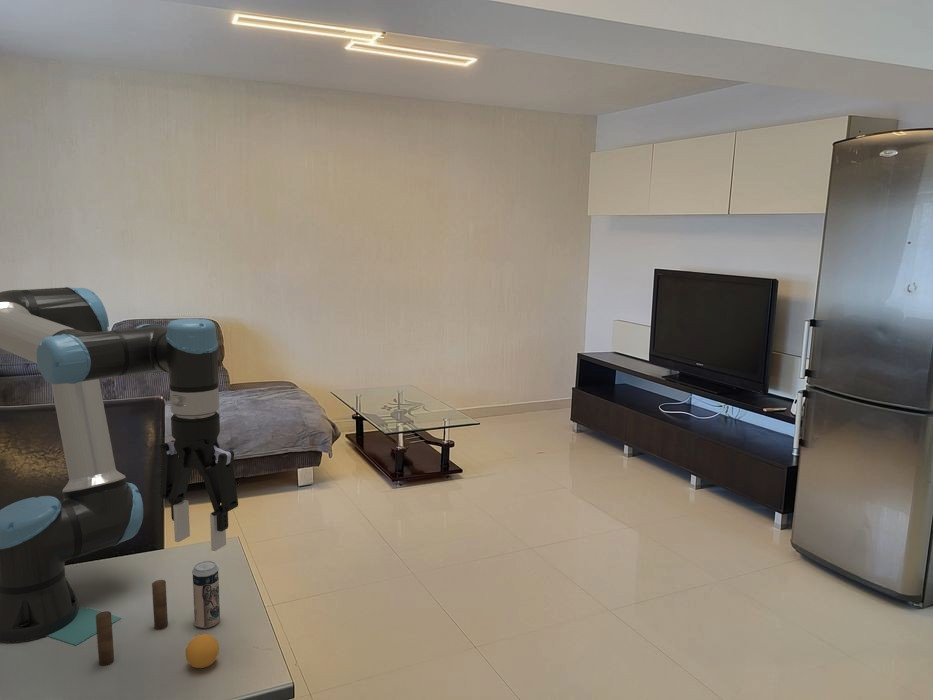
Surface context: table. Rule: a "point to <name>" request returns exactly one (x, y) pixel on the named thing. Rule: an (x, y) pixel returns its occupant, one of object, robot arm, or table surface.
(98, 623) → the post
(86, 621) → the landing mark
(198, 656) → the ball
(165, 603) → the post
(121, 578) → the table surface
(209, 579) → the beer can
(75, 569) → the table surface
